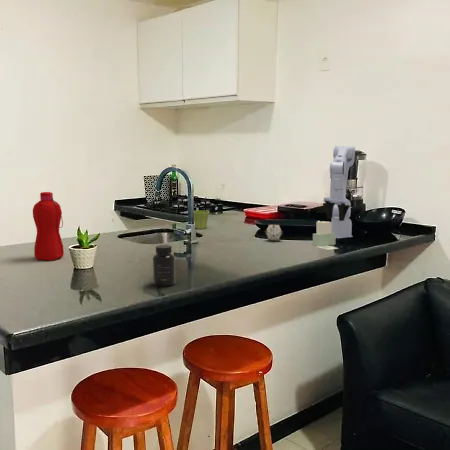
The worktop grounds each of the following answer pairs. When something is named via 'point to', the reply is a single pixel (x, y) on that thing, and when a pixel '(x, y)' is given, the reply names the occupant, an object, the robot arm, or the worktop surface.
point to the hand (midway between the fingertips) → (335, 219)
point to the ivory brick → (323, 227)
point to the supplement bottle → (163, 266)
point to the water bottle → (47, 228)
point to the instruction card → (327, 247)
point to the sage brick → (323, 239)
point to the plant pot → (201, 219)
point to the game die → (273, 232)
